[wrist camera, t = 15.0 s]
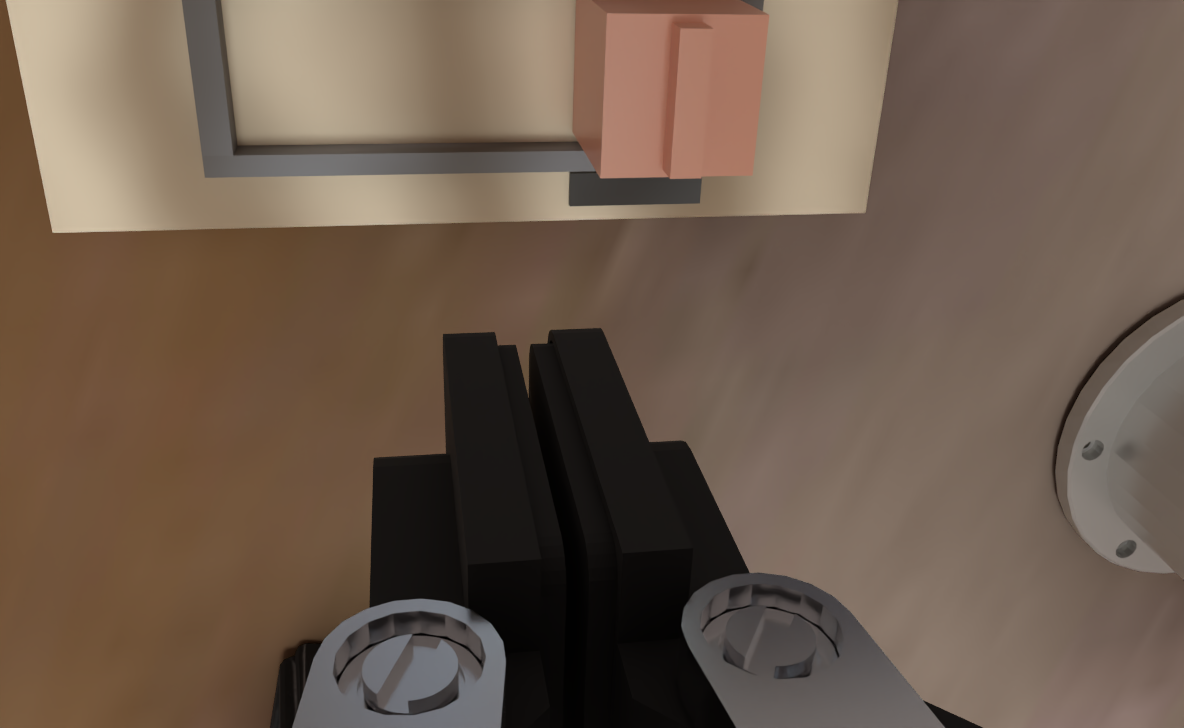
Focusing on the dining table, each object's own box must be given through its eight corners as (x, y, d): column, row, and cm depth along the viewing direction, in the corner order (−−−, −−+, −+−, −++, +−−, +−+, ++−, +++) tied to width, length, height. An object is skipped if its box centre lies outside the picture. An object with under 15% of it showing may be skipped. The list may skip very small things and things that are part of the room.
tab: (718, -12, 30) (780, 19, 25) (706, 130, 32) (762, 184, 27) (576, -14, 29) (613, 19, 25) (572, 132, 31) (606, 188, 26)
